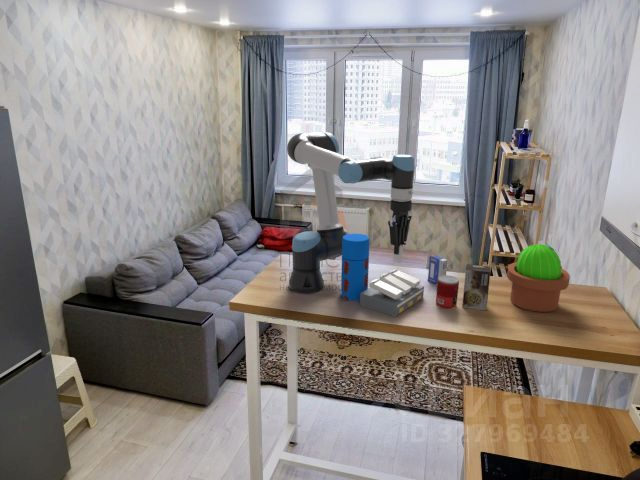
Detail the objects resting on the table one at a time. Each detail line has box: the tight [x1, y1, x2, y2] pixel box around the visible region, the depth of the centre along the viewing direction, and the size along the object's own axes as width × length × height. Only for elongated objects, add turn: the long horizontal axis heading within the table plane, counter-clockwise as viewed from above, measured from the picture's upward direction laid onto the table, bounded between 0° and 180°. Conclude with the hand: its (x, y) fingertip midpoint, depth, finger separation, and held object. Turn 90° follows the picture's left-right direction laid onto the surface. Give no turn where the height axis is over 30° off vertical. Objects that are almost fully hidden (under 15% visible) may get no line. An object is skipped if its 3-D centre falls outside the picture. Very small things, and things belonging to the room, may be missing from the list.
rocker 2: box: [378, 272, 411, 295], centre depth 183 cm, size 12×4×2 cm, turn 51°
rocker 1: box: [368, 278, 403, 299], centre depth 178 cm, size 12×4×2 cm, turn 51°
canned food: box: [435, 274, 460, 309], centre depth 181 cm, size 8×8×11 cm
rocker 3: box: [388, 268, 421, 288], centre depth 188 cm, size 12×4×2 cm, turn 51°
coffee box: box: [461, 263, 492, 311], centre depth 180 cm, size 9×6×16 cm
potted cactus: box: [506, 243, 571, 313], centre depth 181 cm, size 22×22×25 cm
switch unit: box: [359, 284, 425, 318], centre depth 185 cm, size 16×22×7 cm
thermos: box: [340, 233, 371, 302], centre depth 188 cm, size 11×11×25 cm
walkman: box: [427, 254, 448, 285], centre depth 202 cm, size 8×3×12 cm, turn 32°
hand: (397, 261), depth 171 cm, fingers closed
